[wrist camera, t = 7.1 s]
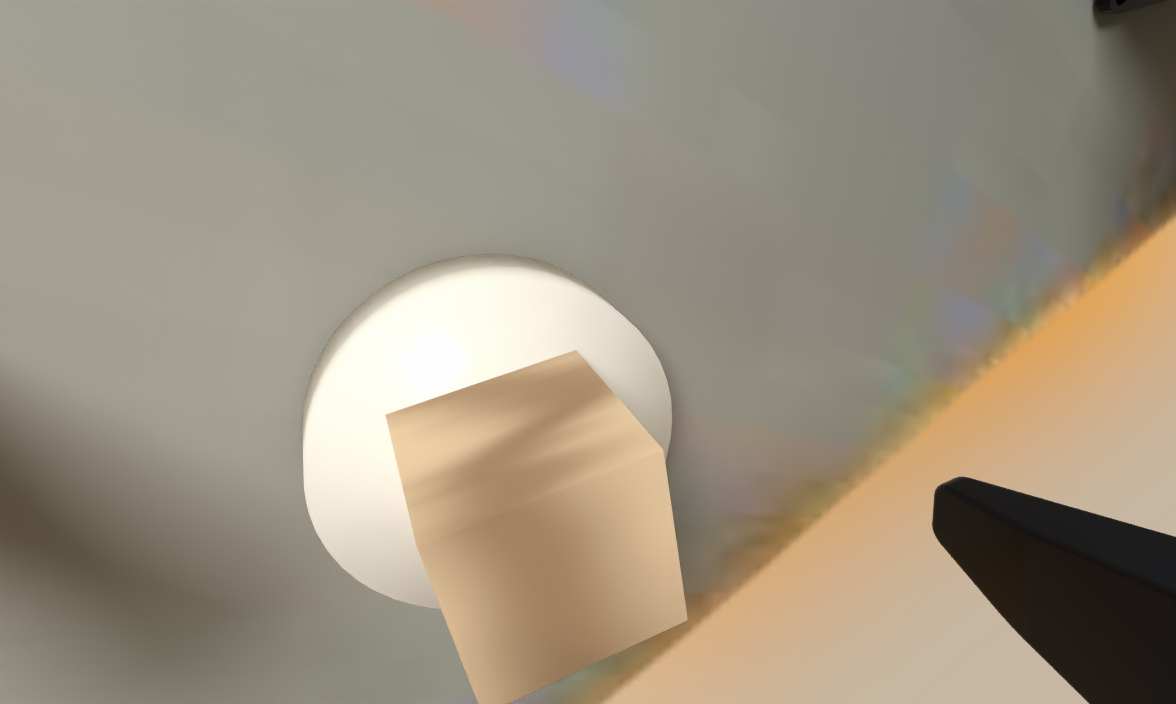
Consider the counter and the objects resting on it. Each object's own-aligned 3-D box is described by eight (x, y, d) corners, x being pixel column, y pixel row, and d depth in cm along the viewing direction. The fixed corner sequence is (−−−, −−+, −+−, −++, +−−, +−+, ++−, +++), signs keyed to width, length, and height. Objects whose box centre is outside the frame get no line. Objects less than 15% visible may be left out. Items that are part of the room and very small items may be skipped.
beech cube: (576, 349, 18) (663, 449, 14) (605, 496, 20) (687, 620, 16) (385, 414, 17) (416, 545, 12) (440, 562, 19) (483, 714, 15)
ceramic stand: (610, 211, 19) (648, 234, 17) (654, 484, 24) (688, 528, 22) (240, 319, 17) (232, 361, 15) (370, 599, 22) (379, 660, 20)
